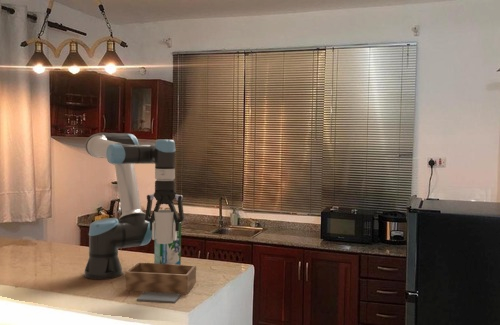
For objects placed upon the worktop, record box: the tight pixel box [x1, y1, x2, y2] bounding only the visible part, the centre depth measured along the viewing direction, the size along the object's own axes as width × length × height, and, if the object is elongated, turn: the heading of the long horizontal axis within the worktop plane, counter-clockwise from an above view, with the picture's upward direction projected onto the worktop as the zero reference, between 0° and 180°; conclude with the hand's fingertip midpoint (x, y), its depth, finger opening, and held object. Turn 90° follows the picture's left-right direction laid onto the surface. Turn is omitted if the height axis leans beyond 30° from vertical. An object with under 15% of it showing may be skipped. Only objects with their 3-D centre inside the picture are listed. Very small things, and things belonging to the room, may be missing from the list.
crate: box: [125, 262, 197, 295], centre depth 174 cm, size 24×14×7 cm, turn 84°
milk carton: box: [153, 220, 182, 265], centre depth 191 cm, size 9×9×25 cm
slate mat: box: [136, 291, 182, 304], centre depth 161 cm, size 14×8×1 cm, turn 84°
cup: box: [153, 209, 174, 244], centre depth 170 cm, size 8×8×12 cm
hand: (164, 239), depth 170 cm, fingers closed on cup, 7 cm apart
